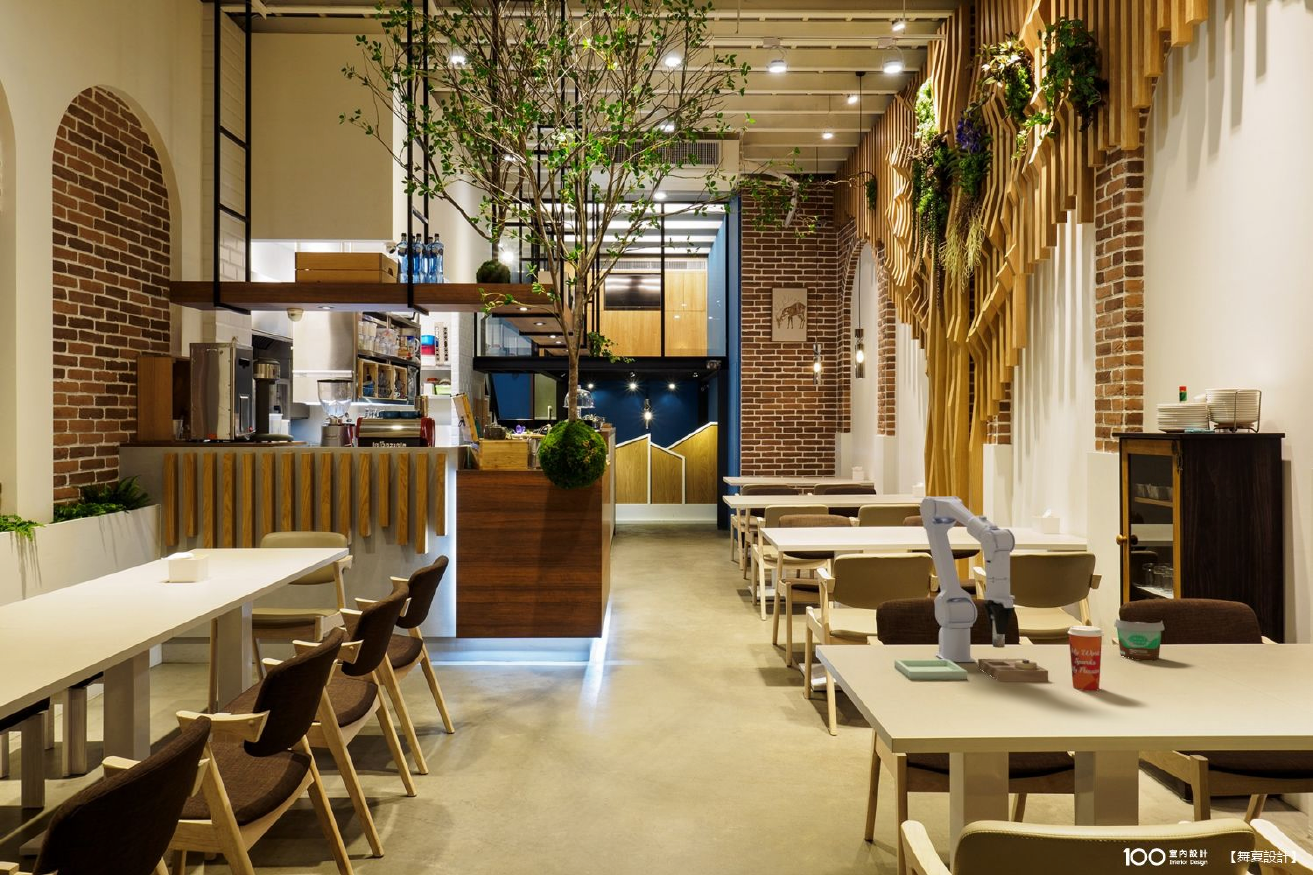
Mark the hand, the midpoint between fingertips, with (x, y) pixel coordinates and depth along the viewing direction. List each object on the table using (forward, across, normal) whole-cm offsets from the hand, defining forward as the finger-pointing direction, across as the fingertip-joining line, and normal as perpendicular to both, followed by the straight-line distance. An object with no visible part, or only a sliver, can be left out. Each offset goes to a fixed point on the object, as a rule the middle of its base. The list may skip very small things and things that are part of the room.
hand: (998, 632), depth 241 cm
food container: (+10, +17, -45) cm, 49 cm away
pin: (+3, 0, 0) cm, 4 cm away
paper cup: (+10, -15, -15) cm, 24 cm away
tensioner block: (+10, -1, -3) cm, 11 cm away
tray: (+10, +1, +17) cm, 20 cm away
